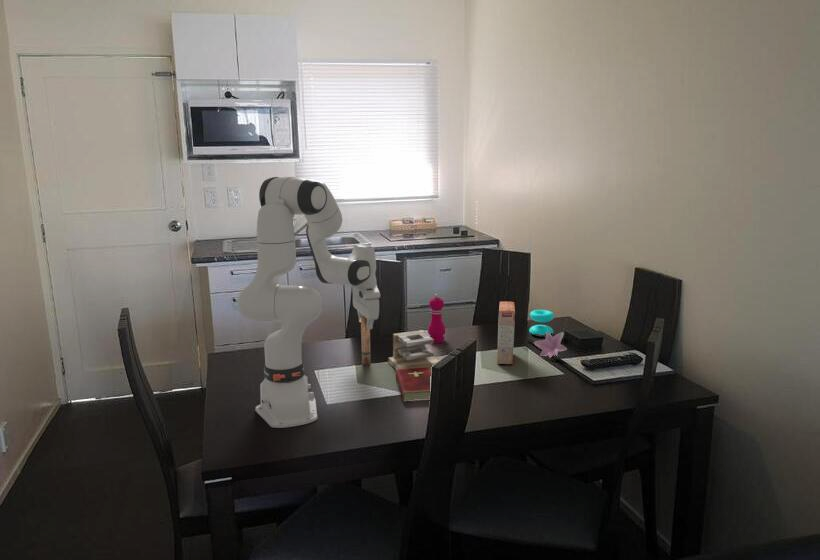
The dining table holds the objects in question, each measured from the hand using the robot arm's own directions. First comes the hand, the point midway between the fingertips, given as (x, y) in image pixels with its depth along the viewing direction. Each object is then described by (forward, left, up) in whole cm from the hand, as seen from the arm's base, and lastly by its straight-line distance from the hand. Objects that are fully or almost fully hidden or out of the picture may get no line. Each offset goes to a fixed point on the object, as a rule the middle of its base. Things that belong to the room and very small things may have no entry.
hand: (365, 325), depth 231 cm
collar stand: (-9, -16, -15) cm, 24 cm away
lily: (-22, -66, -15) cm, 71 cm away
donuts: (+4, -79, -15) cm, 80 cm away
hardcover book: (-29, -8, -16) cm, 34 cm away
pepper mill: (+14, -35, -15) cm, 40 cm away
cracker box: (-16, -50, -15) cm, 55 cm away
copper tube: (0, 0, -15) cm, 15 cm away
